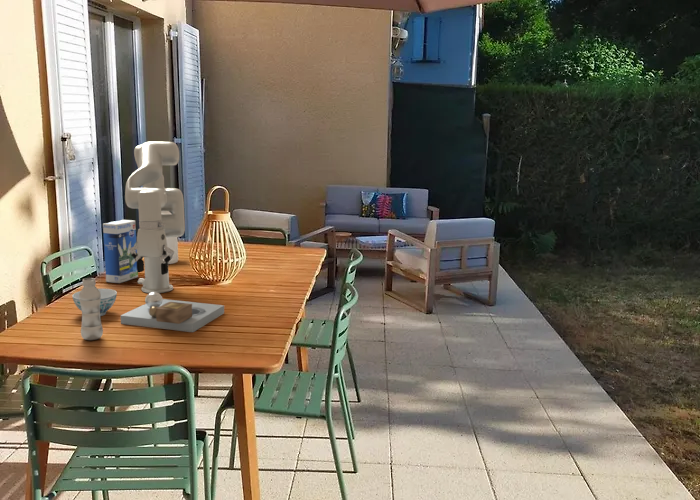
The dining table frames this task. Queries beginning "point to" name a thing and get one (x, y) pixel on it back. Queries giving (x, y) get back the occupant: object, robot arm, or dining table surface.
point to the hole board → (199, 318)
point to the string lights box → (119, 250)
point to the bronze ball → (153, 311)
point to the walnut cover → (174, 312)
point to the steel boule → (153, 299)
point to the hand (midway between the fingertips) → (152, 272)
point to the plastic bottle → (90, 310)
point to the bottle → (172, 244)
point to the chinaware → (106, 300)
